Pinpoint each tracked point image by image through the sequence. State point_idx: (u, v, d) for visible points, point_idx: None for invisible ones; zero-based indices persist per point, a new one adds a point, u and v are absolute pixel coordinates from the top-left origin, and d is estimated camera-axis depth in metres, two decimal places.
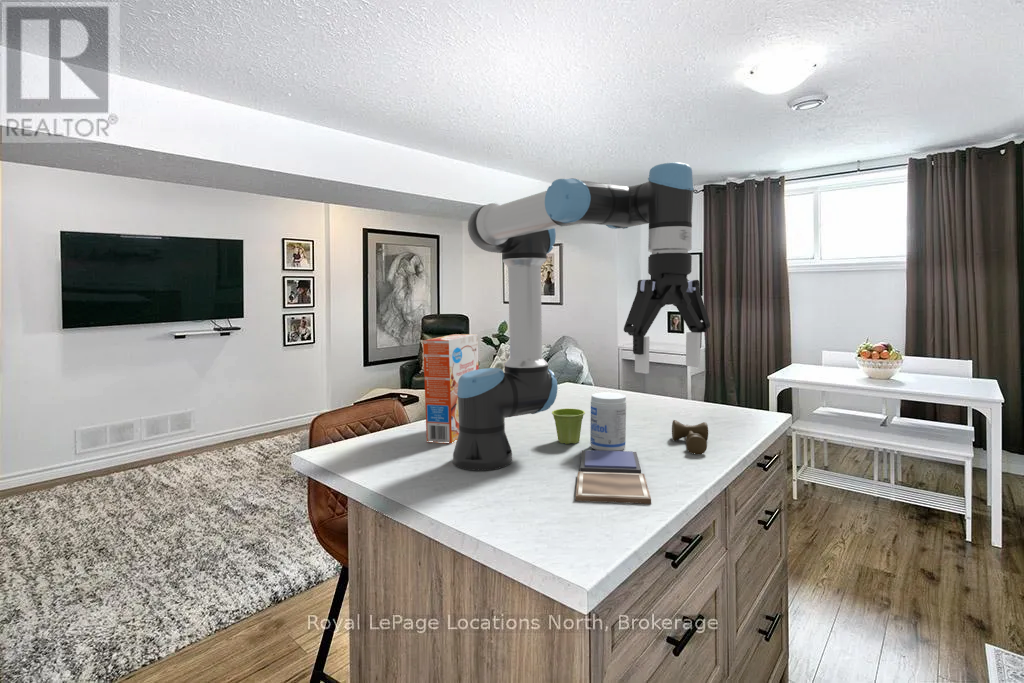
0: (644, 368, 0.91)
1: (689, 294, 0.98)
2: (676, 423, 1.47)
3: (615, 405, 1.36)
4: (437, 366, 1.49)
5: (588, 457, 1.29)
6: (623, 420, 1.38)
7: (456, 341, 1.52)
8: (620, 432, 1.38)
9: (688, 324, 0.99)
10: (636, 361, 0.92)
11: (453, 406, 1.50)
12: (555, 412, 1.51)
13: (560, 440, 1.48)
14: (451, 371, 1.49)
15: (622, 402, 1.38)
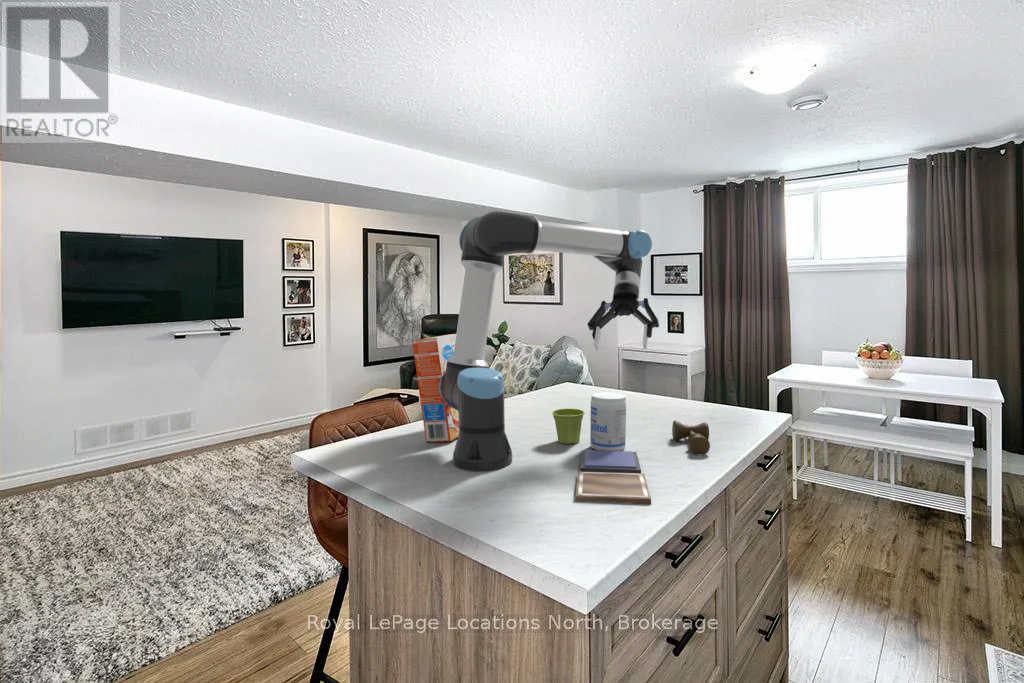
0: (646, 345, 1.44)
1: (604, 309, 1.55)
2: (677, 423, 1.46)
3: (615, 405, 1.36)
4: (428, 365, 1.49)
5: (588, 457, 1.29)
6: (623, 420, 1.38)
7: (445, 339, 1.52)
8: (620, 432, 1.38)
9: (600, 323, 1.52)
10: (646, 338, 1.43)
11: None
12: (555, 412, 1.51)
13: (560, 440, 1.48)
14: (443, 369, 1.49)
15: (622, 402, 1.38)
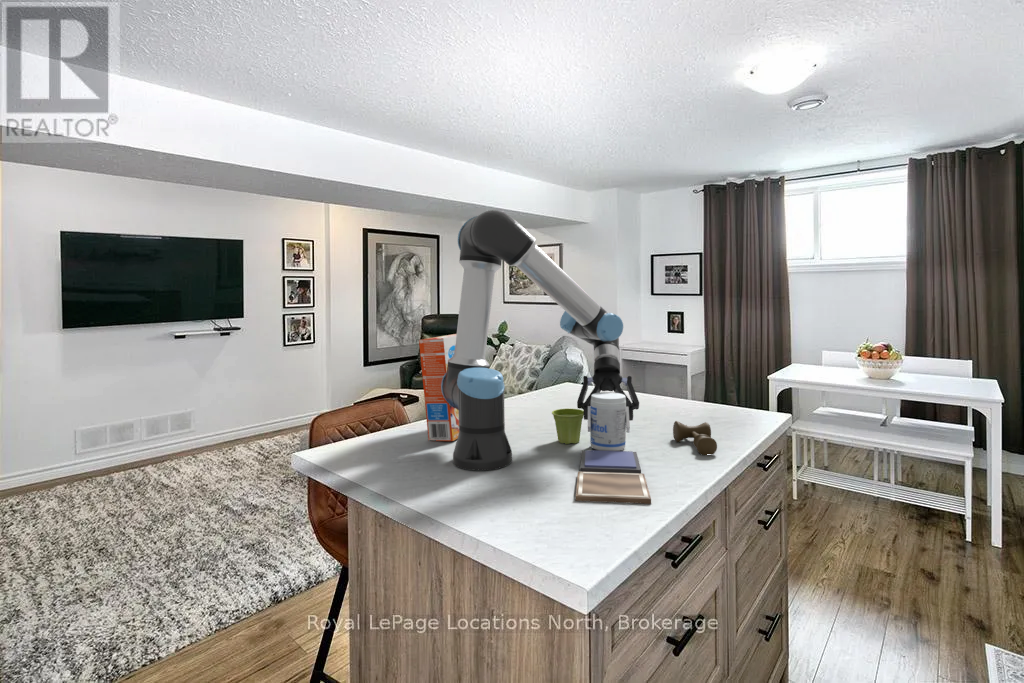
0: None
1: (587, 384, 1.48)
2: (679, 424, 1.45)
3: (615, 405, 1.36)
4: (433, 365, 1.50)
5: (588, 457, 1.29)
6: (623, 420, 1.38)
7: (451, 339, 1.53)
8: (620, 432, 1.38)
9: (590, 401, 1.44)
10: None
11: None
12: (555, 412, 1.51)
13: (560, 440, 1.48)
14: None
15: (622, 402, 1.38)
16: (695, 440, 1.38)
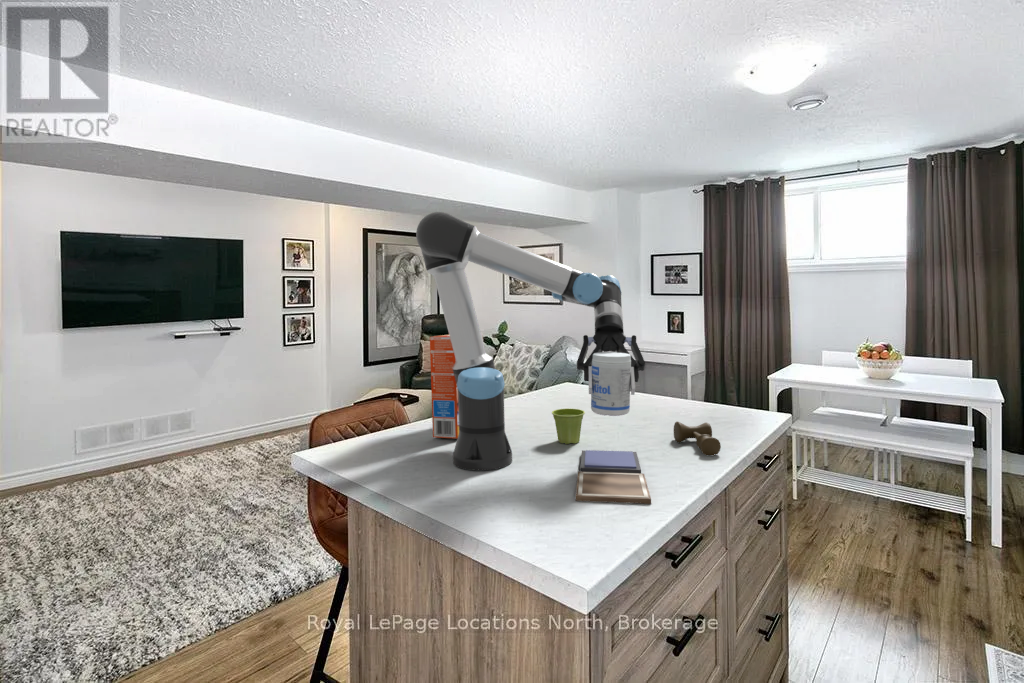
0: None
1: (588, 344, 1.35)
2: (681, 425, 1.45)
3: (619, 364, 1.24)
4: (443, 362, 1.52)
5: (588, 457, 1.29)
6: (628, 381, 1.25)
7: None
8: (625, 394, 1.25)
9: (591, 362, 1.31)
10: (634, 382, 1.25)
11: None
12: (555, 412, 1.51)
13: (560, 440, 1.48)
14: None
15: (627, 361, 1.25)
16: (698, 440, 1.37)
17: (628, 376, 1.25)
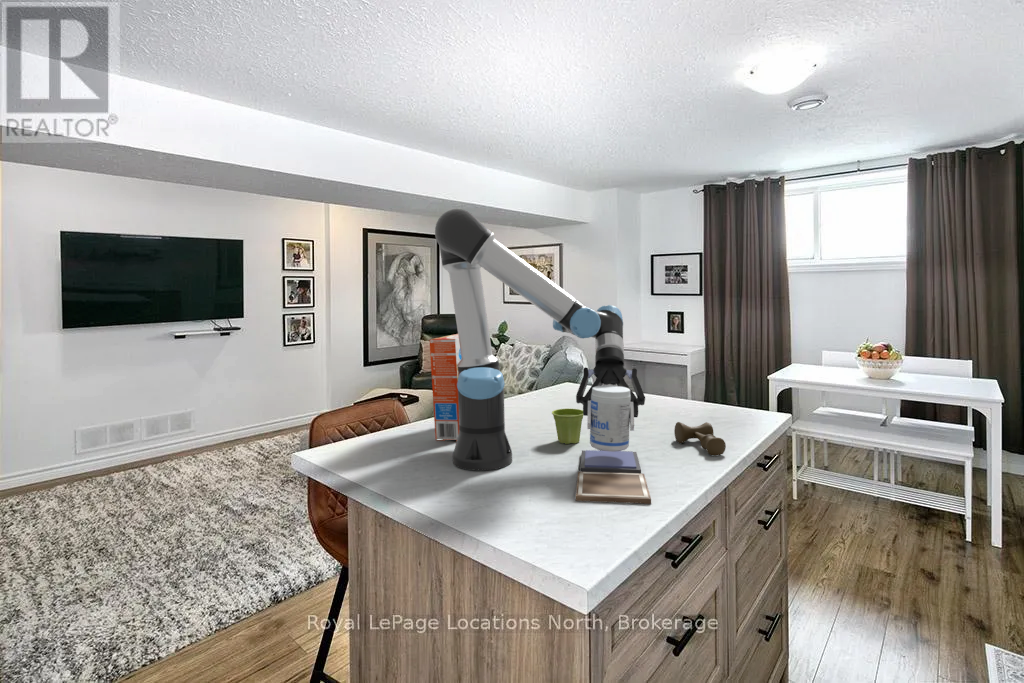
0: None
1: (588, 377, 1.34)
2: (683, 425, 1.44)
3: (618, 399, 1.22)
4: (444, 365, 1.51)
5: (588, 457, 1.29)
6: (627, 416, 1.24)
7: None
8: (624, 430, 1.24)
9: (590, 396, 1.30)
10: (633, 418, 1.24)
11: None
12: (555, 412, 1.51)
13: (560, 440, 1.48)
14: None
15: (626, 396, 1.24)
16: (702, 441, 1.37)
17: (627, 411, 1.24)
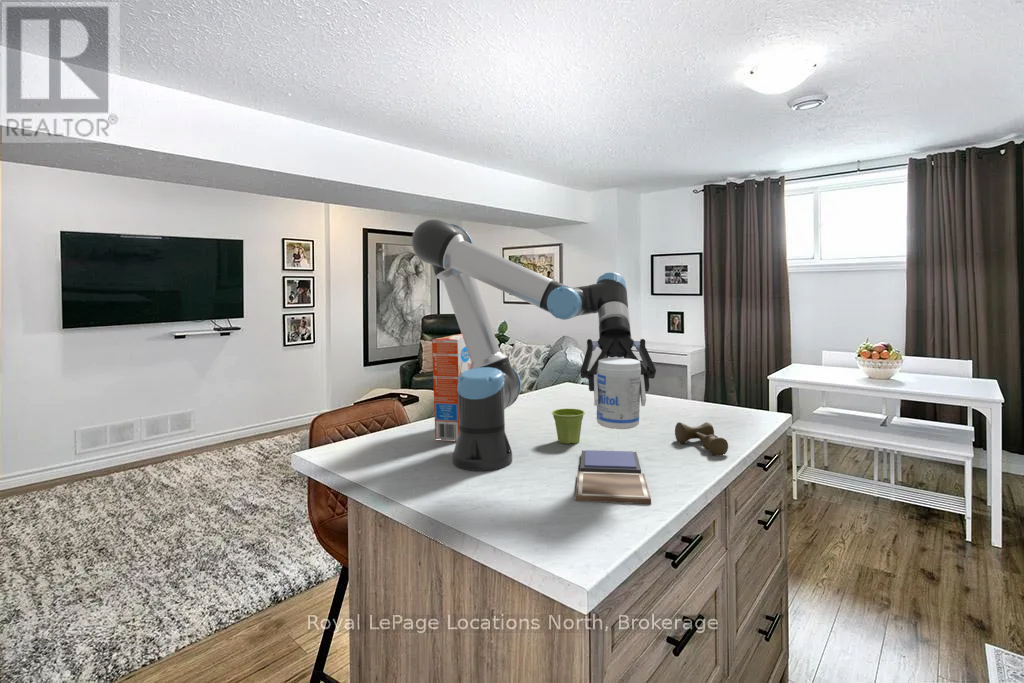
0: None
1: (592, 349, 1.23)
2: (684, 425, 1.44)
3: (628, 372, 1.12)
4: (445, 365, 1.50)
5: (588, 457, 1.29)
6: (637, 390, 1.14)
7: None
8: (634, 405, 1.13)
9: (596, 369, 1.19)
10: None
11: None
12: (555, 412, 1.51)
13: (560, 440, 1.48)
14: (460, 370, 1.51)
15: (637, 368, 1.13)
16: (705, 441, 1.37)
17: (638, 385, 1.14)
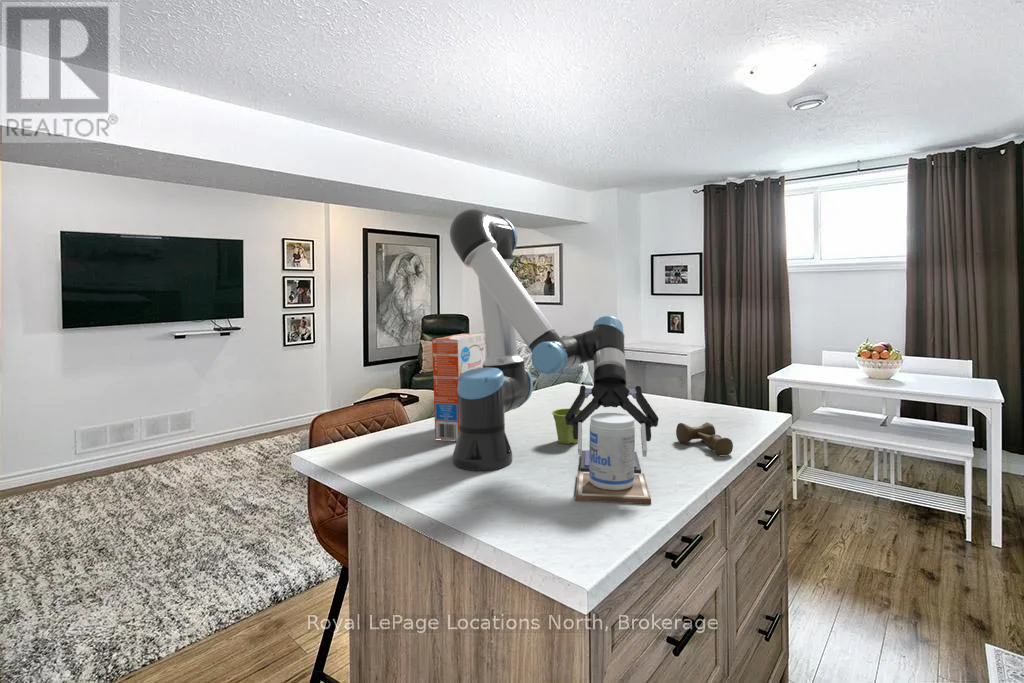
0: None
1: (584, 397, 1.19)
2: (686, 426, 1.43)
3: (621, 431, 1.07)
4: (445, 365, 1.50)
5: (588, 457, 1.29)
6: (631, 450, 1.08)
7: (464, 340, 1.54)
8: (628, 465, 1.08)
9: (582, 417, 1.15)
10: (646, 443, 1.09)
11: None
12: (555, 412, 1.51)
13: (560, 440, 1.48)
14: (460, 370, 1.51)
15: (630, 427, 1.08)
16: (709, 441, 1.36)
17: (631, 444, 1.08)
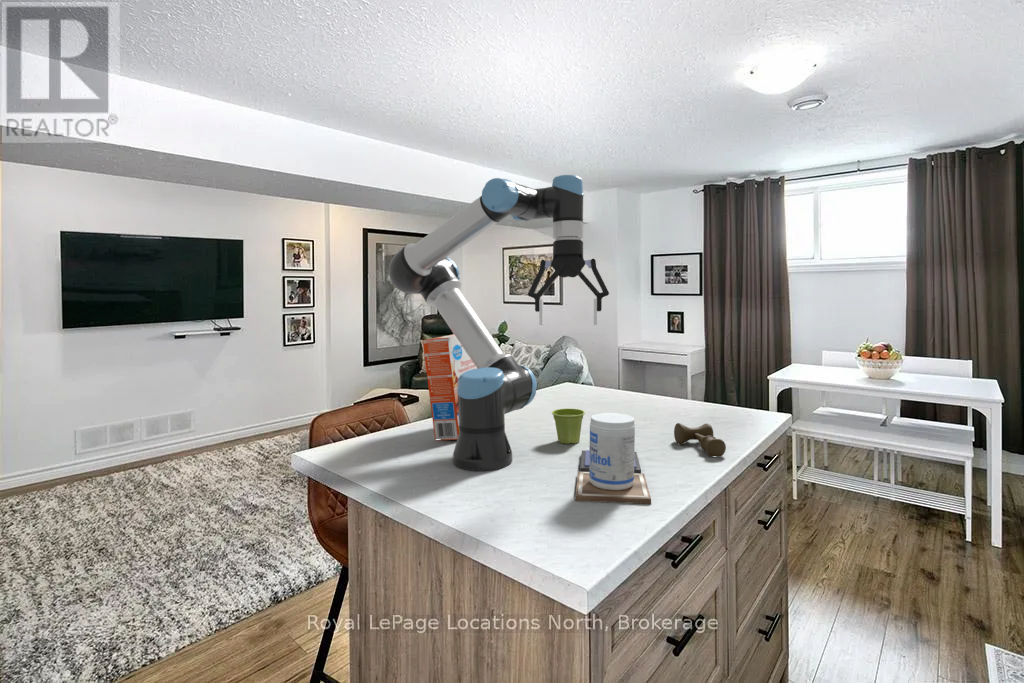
0: None
1: (544, 270, 1.31)
2: (682, 426, 1.43)
3: (621, 431, 1.07)
4: (438, 364, 1.51)
5: (588, 457, 1.29)
6: (631, 450, 1.08)
7: (455, 338, 1.54)
8: (628, 465, 1.08)
9: (543, 293, 1.31)
10: (596, 317, 1.29)
11: (457, 402, 1.52)
12: (555, 412, 1.51)
13: (560, 440, 1.48)
14: (453, 368, 1.51)
15: (630, 427, 1.08)
16: (702, 442, 1.36)
17: (631, 444, 1.08)
